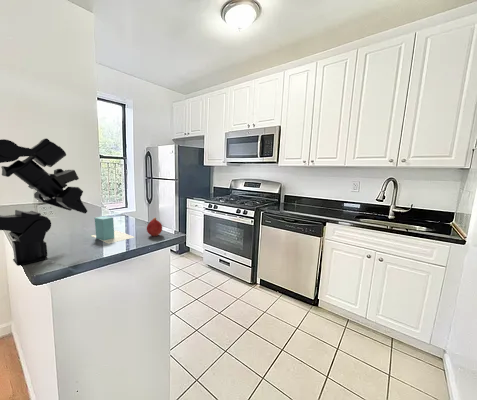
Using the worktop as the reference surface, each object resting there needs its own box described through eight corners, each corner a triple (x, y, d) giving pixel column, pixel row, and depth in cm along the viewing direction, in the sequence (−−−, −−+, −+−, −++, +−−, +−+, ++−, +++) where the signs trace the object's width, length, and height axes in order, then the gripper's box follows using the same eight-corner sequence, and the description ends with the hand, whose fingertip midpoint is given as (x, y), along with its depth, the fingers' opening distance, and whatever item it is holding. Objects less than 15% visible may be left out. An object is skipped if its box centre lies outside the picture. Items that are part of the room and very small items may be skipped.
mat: (108, 245, 80) (108, 243, 80) (90, 237, 88) (90, 235, 88) (135, 238, 88) (135, 237, 88) (116, 231, 96) (116, 230, 96)
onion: (146, 239, 87) (145, 219, 85) (148, 235, 92) (147, 216, 91) (162, 238, 88) (161, 218, 87) (162, 234, 94) (162, 215, 92)
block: (104, 240, 83) (102, 219, 82) (96, 238, 85) (94, 217, 84) (114, 237, 86) (113, 217, 85) (106, 235, 89) (105, 216, 88)
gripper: (75, 160, 66) (111, 195, 77) (44, 160, 75) (81, 192, 85) (43, 186, 60) (87, 221, 70) (14, 183, 68) (57, 214, 79)
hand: (78, 210), depth 76 cm, fingers open, 9 cm apart
